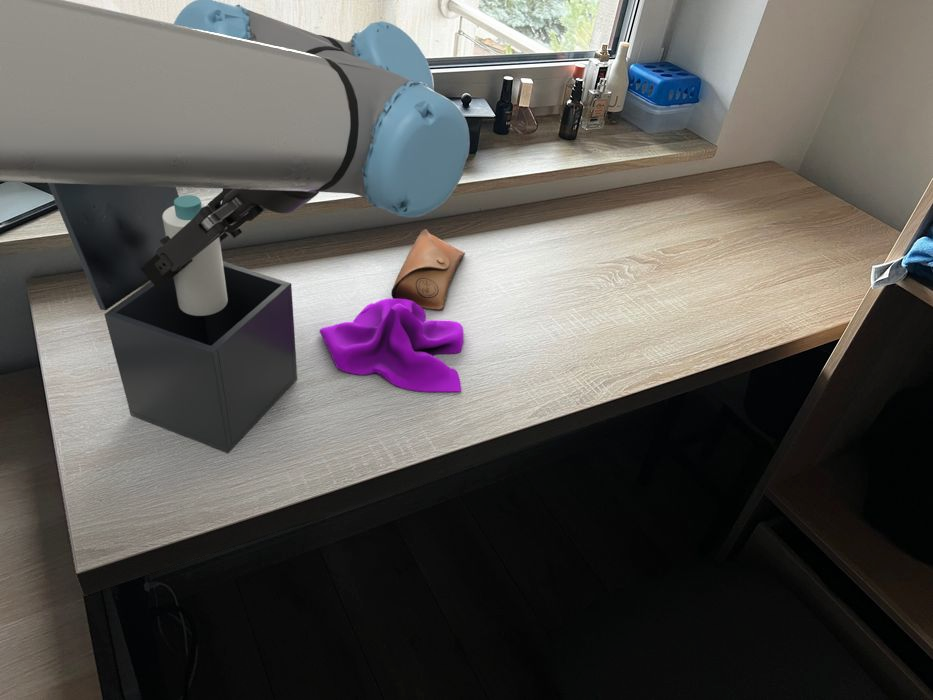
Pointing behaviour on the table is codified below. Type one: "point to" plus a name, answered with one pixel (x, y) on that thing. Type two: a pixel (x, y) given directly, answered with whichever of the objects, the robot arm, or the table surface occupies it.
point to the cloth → (397, 346)
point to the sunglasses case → (427, 272)
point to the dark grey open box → (206, 357)
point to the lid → (114, 232)
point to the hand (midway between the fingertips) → (170, 264)
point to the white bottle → (197, 264)
